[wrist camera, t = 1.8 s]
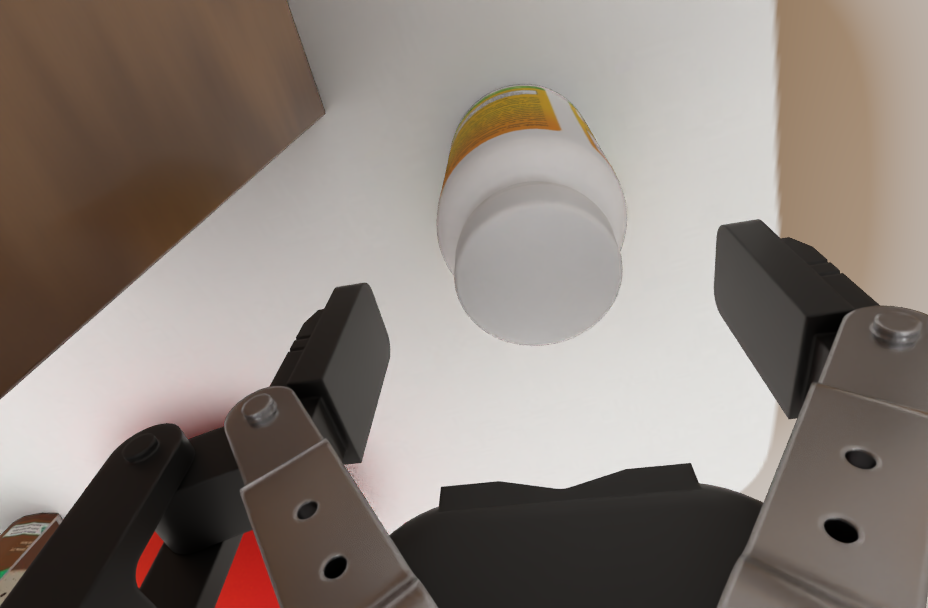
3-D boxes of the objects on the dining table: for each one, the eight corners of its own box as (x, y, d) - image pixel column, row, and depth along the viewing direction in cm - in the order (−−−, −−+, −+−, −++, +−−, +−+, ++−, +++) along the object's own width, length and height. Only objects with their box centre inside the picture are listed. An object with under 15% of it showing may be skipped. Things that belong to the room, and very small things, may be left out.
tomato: (224, 557, 37) (142, 737, 29) (85, 446, 31) (-73, 631, 23) (393, 512, 33) (358, 704, 25) (272, 374, 27) (168, 565, 19)
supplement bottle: (430, 184, 21) (390, 322, 13) (489, 54, 18) (485, 125, 10) (544, 238, 22) (574, 396, 14) (617, 122, 19) (706, 236, 11)
